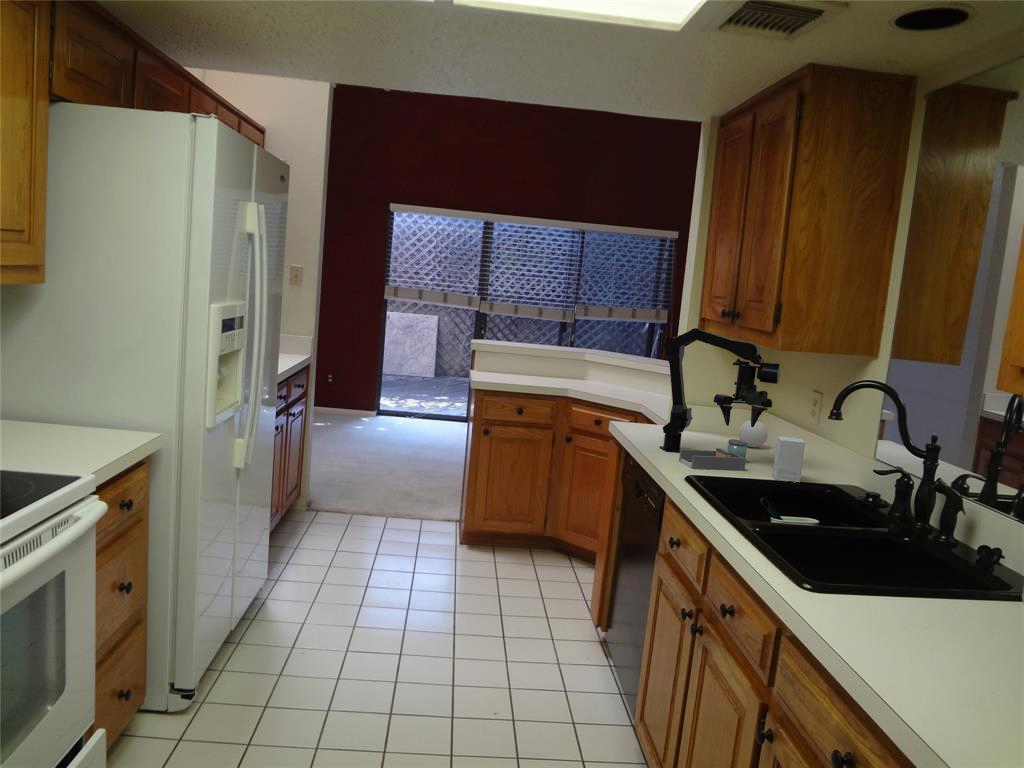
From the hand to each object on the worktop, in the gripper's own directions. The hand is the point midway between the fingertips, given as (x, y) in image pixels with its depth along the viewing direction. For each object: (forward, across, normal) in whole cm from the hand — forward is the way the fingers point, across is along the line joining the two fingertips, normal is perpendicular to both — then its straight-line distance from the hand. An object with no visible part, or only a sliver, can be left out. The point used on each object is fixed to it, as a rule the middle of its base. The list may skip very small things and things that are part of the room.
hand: (739, 426), depth 254 cm
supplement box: (+12, +5, -22) cm, 26 cm away
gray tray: (+12, -13, -8) cm, 19 cm away
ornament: (+12, +21, +26) cm, 36 cm away
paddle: (+12, -9, -8) cm, 17 cm away
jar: (+12, 0, 0) cm, 12 cm away
